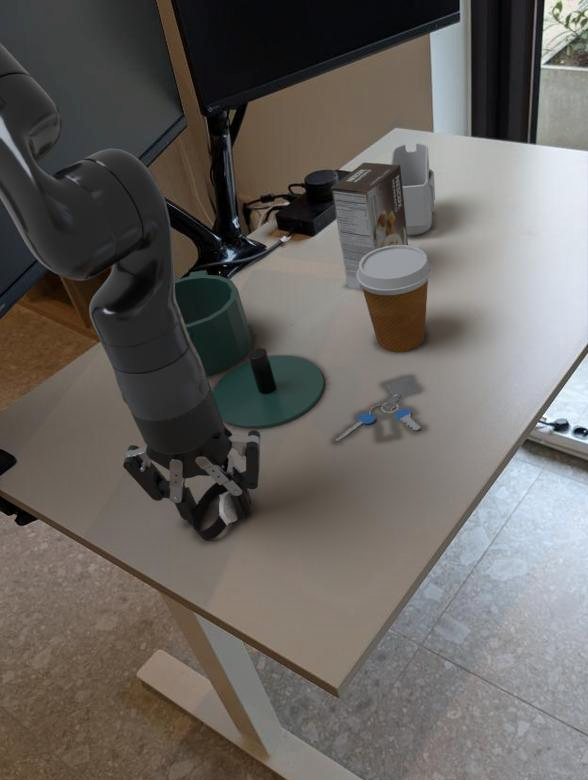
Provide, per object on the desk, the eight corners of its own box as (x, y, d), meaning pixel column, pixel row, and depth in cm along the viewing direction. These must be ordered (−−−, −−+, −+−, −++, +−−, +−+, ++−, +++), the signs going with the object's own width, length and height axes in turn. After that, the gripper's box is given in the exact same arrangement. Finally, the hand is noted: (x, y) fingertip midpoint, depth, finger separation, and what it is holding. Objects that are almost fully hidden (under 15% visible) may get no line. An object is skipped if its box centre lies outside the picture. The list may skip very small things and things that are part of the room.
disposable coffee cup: (354, 341, 95) (340, 262, 86) (409, 315, 98) (402, 235, 89) (392, 372, 89) (382, 289, 80) (450, 343, 92) (446, 260, 83)
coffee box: (376, 262, 110) (364, 160, 99) (411, 268, 107) (402, 164, 96) (346, 290, 105) (329, 186, 94) (382, 297, 102) (368, 191, 91)
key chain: (396, 377, 88) (395, 371, 87) (453, 393, 84) (452, 387, 83) (334, 443, 80) (333, 438, 80) (394, 464, 76) (393, 459, 76)
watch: (228, 546, 71) (218, 523, 68) (186, 542, 72) (176, 520, 69) (251, 492, 76) (243, 469, 74) (212, 490, 77) (203, 467, 75)
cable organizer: (396, 246, 113) (388, 173, 105) (399, 213, 122) (393, 143, 113) (436, 243, 112) (432, 168, 104) (437, 210, 121) (433, 139, 112)
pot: (148, 399, 92) (124, 346, 86) (170, 323, 105) (151, 273, 99) (246, 386, 91) (229, 332, 85) (256, 311, 104) (242, 260, 98)
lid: (207, 439, 84) (191, 397, 79) (220, 369, 94) (206, 328, 90) (324, 424, 83) (315, 381, 78) (324, 355, 94) (316, 313, 89)
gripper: (248, 357, 64) (285, 483, 76) (101, 376, 65) (160, 497, 77) (241, 407, 59) (282, 534, 71) (81, 427, 60) (148, 549, 72)
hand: (218, 514), depth 74 cm, fingers closed on watch, 5 cm apart
